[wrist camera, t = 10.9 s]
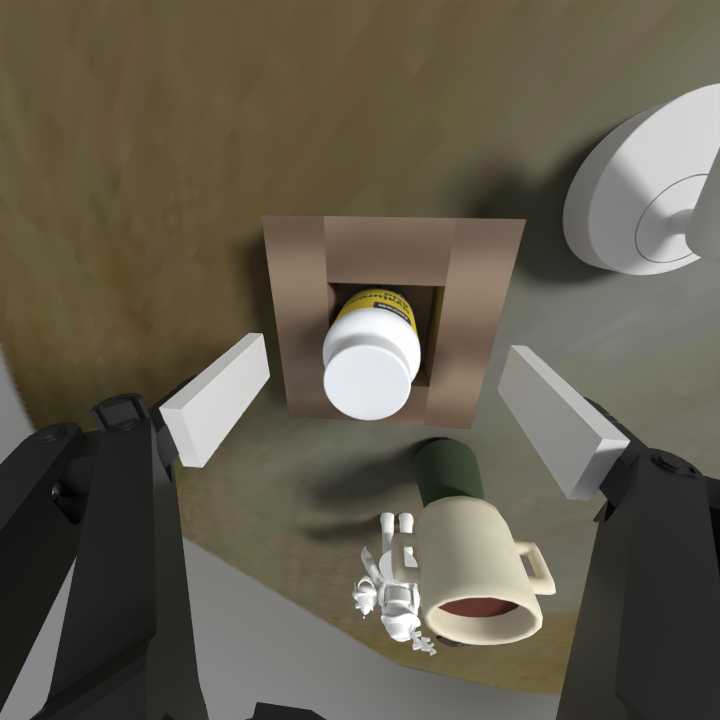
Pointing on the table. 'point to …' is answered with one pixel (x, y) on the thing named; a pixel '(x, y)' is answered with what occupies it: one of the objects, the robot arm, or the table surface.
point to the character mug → (468, 555)
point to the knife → (458, 643)
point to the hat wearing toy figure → (392, 588)
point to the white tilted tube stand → (651, 190)
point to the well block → (413, 280)
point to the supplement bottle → (371, 354)
